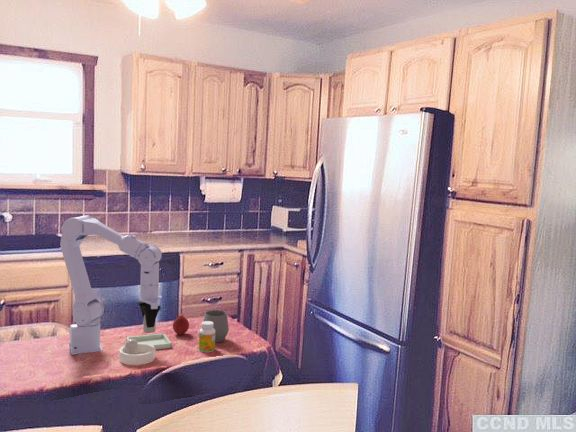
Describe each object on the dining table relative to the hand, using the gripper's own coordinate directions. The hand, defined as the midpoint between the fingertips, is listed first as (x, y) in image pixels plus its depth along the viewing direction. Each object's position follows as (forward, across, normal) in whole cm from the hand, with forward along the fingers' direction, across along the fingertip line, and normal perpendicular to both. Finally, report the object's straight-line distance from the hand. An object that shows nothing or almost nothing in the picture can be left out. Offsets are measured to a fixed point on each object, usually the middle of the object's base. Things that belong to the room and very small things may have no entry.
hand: (148, 325), depth 175 cm
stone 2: (+2, 0, 0) cm, 2 cm away
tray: (+10, +8, -2) cm, 13 cm away
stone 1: (+9, -3, +6) cm, 12 cm away
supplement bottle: (+10, -3, -19) cm, 22 cm away
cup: (+10, +6, -25) cm, 27 cm away
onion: (+10, +15, -15) cm, 24 cm away
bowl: (+10, -3, +4) cm, 11 cm away
